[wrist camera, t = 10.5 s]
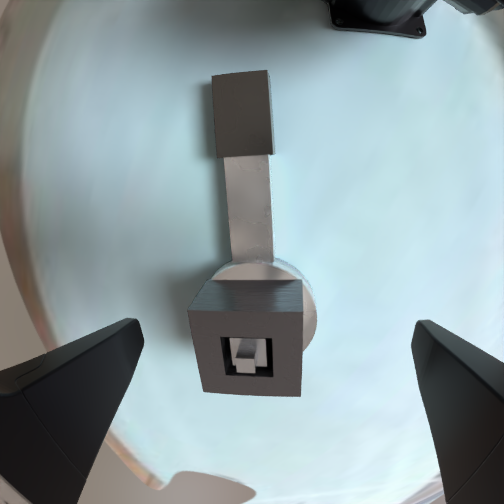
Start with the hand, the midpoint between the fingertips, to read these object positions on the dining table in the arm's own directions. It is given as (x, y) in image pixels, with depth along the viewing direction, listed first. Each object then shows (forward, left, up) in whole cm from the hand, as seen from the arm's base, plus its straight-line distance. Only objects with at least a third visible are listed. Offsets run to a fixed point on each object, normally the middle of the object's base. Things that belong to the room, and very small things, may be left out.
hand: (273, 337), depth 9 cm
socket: (+2, +5, -10) cm, 11 cm away
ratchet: (+2, 0, -11) cm, 12 cm away
